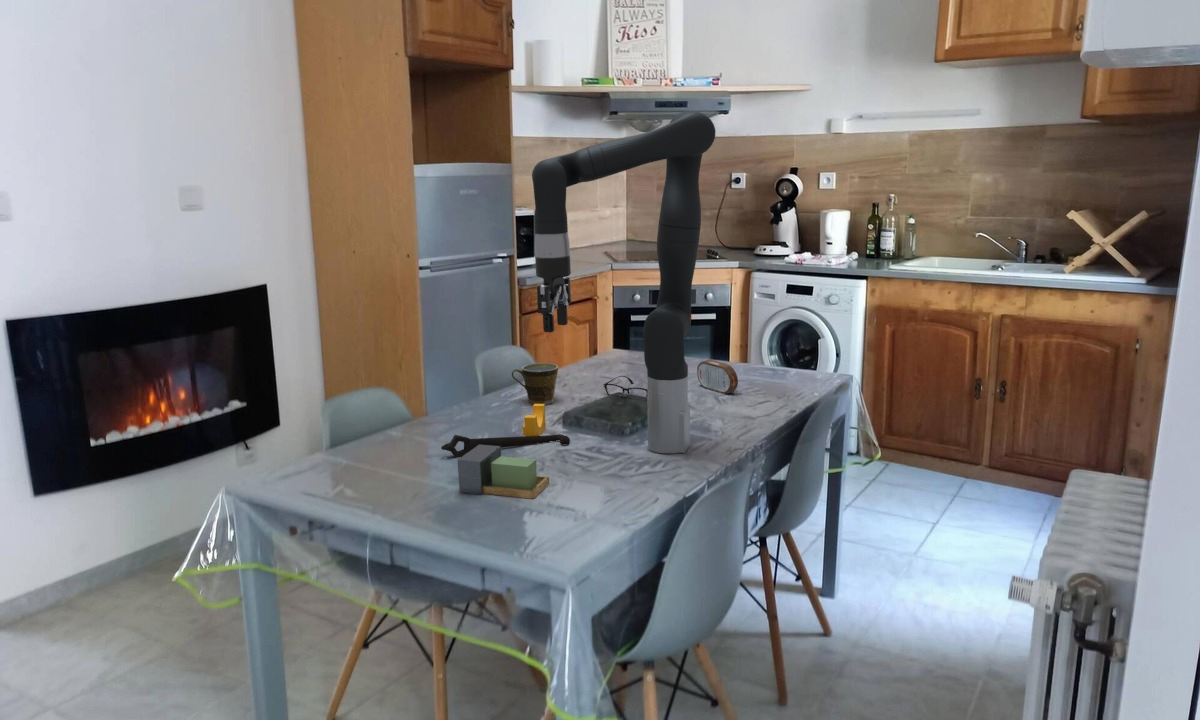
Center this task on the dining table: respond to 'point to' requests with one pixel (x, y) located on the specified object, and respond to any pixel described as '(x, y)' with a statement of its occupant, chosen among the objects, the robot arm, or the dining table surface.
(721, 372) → the tin
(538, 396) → the ceramic cup
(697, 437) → the dining table surface
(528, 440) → the wrench
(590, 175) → the robot arm
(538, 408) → the pipe clamp
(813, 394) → the dining table surface
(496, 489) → the grey block with frame
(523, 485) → the sage green upright block
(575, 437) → the dining table surface
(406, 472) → the dining table surface
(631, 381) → the eyeglasses
